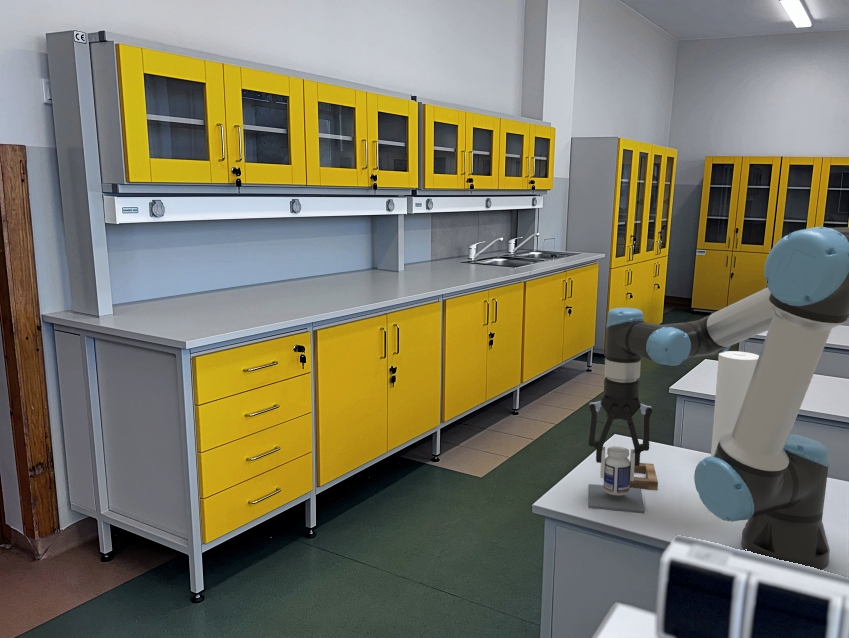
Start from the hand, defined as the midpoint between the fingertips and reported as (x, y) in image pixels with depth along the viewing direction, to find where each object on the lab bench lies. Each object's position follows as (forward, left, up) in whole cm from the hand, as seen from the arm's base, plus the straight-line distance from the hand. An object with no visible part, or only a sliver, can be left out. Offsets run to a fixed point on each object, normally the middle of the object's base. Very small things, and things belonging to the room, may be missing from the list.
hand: (616, 477), depth 157 cm
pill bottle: (0, 0, -4) cm, 4 cm away
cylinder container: (+25, -29, -6) cm, 39 cm away
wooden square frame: (+13, -4, -5) cm, 15 cm away
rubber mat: (0, 0, -5) cm, 5 cm away
